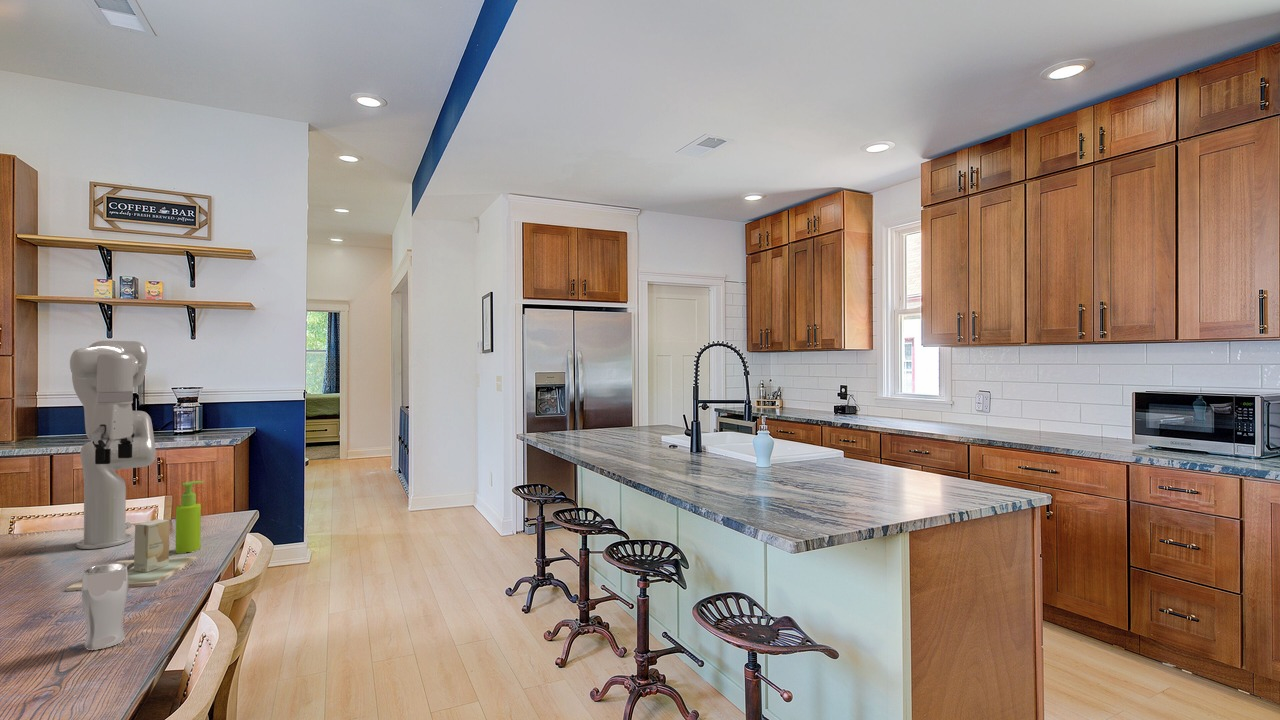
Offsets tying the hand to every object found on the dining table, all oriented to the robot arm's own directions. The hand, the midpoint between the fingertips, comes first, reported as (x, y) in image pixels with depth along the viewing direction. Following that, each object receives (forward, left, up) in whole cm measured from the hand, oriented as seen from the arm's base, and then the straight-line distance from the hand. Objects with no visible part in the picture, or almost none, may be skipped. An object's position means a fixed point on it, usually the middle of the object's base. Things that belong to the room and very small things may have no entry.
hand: (114, 460), depth 166 cm
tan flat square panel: (+10, +11, -28) cm, 32 cm away
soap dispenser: (-10, +14, -28) cm, 33 cm away
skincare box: (+9, +13, -28) cm, 32 cm away
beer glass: (+53, +27, -28) cm, 66 cm away
